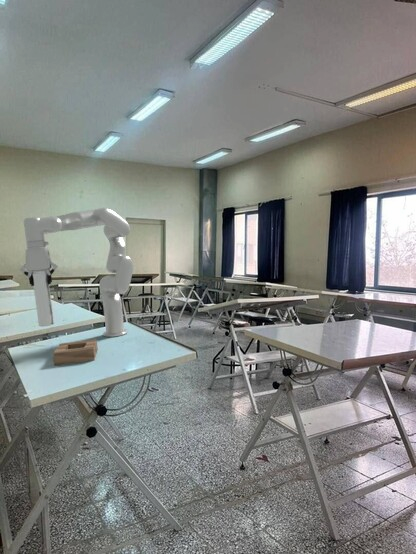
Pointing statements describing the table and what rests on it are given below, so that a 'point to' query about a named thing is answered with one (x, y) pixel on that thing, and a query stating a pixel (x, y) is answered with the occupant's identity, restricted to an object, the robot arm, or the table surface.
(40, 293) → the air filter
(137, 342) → the table surface
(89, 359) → the socket block
